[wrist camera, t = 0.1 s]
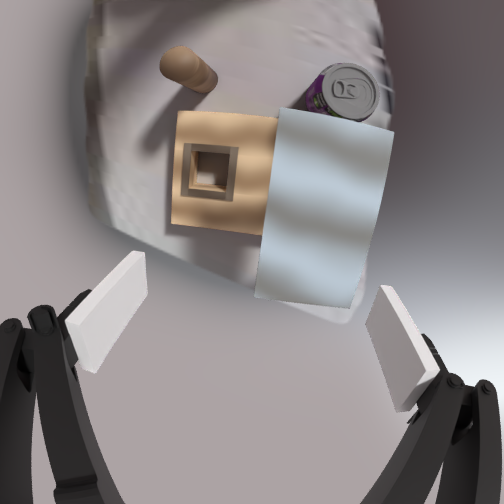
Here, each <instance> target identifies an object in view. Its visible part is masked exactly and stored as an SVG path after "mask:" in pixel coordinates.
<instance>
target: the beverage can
mask: <svg viewBox="0 0 504 504" xmlns="http://www.w3.org/2000/svg"><path fill="white" fill-rule="evenodd" d="M379 98H380V92H379V87H378V84H377V82H376V80H375V79H374V77H373V76H372V75H371V74H370V73H369V72H368V71H367V70H366V69H364V68H363V67H361V66H359V65H356V64H351V63H337V64H333V65H331V66H329V67H327V68H325V69H324V70H323V71H322V72H321V73H320V74H319V76H318V77H317V78H316V79H315V81H314V82H313V83H312V84H311V86H310V87H309V88H308V90H307V93H306V106H307V109H308V111H309V112H313V113H318V114H323V115H328V116H333V117H338V118H342V119H347V120H351V121H355V122H362V121H364V120H366V119H367V118H368V117H370V116H371V115H372V113H373V112H374V110H375V109H376V107H377V105H378V103H379Z"/></svg>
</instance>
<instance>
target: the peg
mask: <svg viewBox="0 0 504 504" xmlns="http://www.w3.org/2000/svg"><path fill="white" fill-rule="evenodd" d="M160 71H161V73H162V74H163V76H164V77H166V78H168V79H170V80H172V81H175V82H177V83H179V84H181V85H183V86H186V87H188V88H190V89H192V90H194V91H196V92H198V93H208V92H210V91H212V90H213V89H214V88H215V87H216V85H217V82H218V77H217V74H216V73H215V72H214V71H213V70H212V69H211V68H210V67H209V66H208V65H207V64H206V63H205V62H204V61H203V60H202V59H201V58H200V57H199V56H197V55H196V54H195V53H194V52H193V51H192V50H191V49H189V48H187V47H184V46H177V47H174V48H171V49H170V50H168V51H167V52H166V53H165V54H164V55H163V56H162V58H161V61H160Z"/></svg>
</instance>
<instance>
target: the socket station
mask: <svg viewBox="0 0 504 504" xmlns="http://www.w3.org/2000/svg"><path fill="white" fill-rule="evenodd" d="M393 137H394V132H392V131H388V130H385V129H381V128H378V127H374V126H371V125H367V124H363V123H359V122H355V121H351V120H347V119H342V118H338V117H333V116H328V115H323V114H318V113H313V112H307V111H302V110H296V109H289V108H282V107H280V110H279V117H278V118H271V117H264V116H255V115H245V114H235V113H222V112H205V111H178V117H177V127H176V138H175V151H174V166H173V185H172V212H171V224H179V225H187V226H195V227H203V228H210V229H218V230H225V231H233V232H240V233H248V234H255V235H262V241H261V248H260V255H259V262H258V269H257V276H256V283H255V290H254V297H256V298H263V299H270V300H278V301H286V302H294V303H302V304H311V305H320V306H329V307H338V308H348V309H350V306H351V303H352V300H353V298H354V295H355V292H356V289H357V286H358V283H359V279H360V276H361V273H362V270H363V267H364V263H365V260H366V257H367V253H368V250H369V245H370V242H371V239H372V235H373V232H374V228H375V224H376V220H377V216H378V212H379V208H380V203H381V199H382V195H383V190H384V185H385V180H386V176H387V171H388V166H389V160H390V154H391V148H392V143H393ZM199 151H201V152H213V153H224V154H230V158H229V168H228V177H227V186H220V185H211V184H201V183H196V182H197V169H198V157H199Z"/></svg>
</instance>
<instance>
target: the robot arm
mask: <svg viewBox="0 0 504 504" xmlns="http://www.w3.org/2000/svg"><path fill="white" fill-rule="evenodd" d="M147 294H148V293H147V282H146V266H145V253H144V252H138V251H132V252H131V253H130V254H129V255H128V256H127V257H126V258H125V259H123V260H122V261H121V263H119V264H118V265H117V266H116V267H115V269H114V270H112V271H111V272H110V273H109V274H108V275H107V276H106V277H105V279H103V280H102V281H101V282H100V283H99V284H98V285H97V287H96V288H95V289H94V290H90V289H88V290H86V291H84V292H82V293H80V294H79V295H78V296H77V297H76V298H75V299H74V301H72V302H71V303H70V304H69V306H68V307H66V309H65V310H64V311H63V312H62V313H61V314H60V315H59V316H58V317H56V314H55V310H54V308H53V307H51V306H49V305H40V306H37V307H35V308H33V309H32V310H31V311H30V312H29V313H28V316H27V318H28V320H29V323H30V326H31V328H32V329H28V328H23V326H22V323H21V321H20V320H18V319H16V318H12V319H8V320H5V321H4V322H3V323H2V324H1V325H0V504H33V495H32V479H31V478H32V477H31V446H32V428H33V416H34V406H35V399H36V392H37V400H38V407H39V414H40V420H41V425H42V431H43V435H44V440H45V445H46V449H47V453H48V457H49V461H50V465H51V468H52V472H53V475H54V479H55V482H56V489H55V490H54V499H55V502H56V504H125V503H124V501H123V500H122V498H121V496H120V495H119V492H118V490H117V488H116V486H115V484H114V482H113V479H112V477H111V475H110V473H109V471H108V468H107V466H106V463H105V461H104V459H103V456H102V454H101V452H100V448H99V446H98V443H97V440H96V437H95V435H94V432H93V429H92V426H91V423H90V420H89V416H88V413H87V410H86V406H85V403H84V400H83V396H82V393H81V388H80V384H79V380H78V376H77V371H76V368H75V366H74V365H75V363H76V362H77V361H78V360H79V363H80V365H81V368H82V369H85V370H87V371H90V372H93V373H95V374H96V372H97V371H98V369H99V367H100V365H101V364H102V362H103V361H104V359H105V358H106V356H107V355H108V353H109V351H110V350H111V348H112V347H113V345H114V344H115V342H116V340H117V339H118V337H119V336H120V334H121V333H122V331H123V330H124V328H125V327H126V325H127V324H128V322H129V321H130V319H131V318H132V316H133V315H134V313H135V312H136V310H137V309H138V307H139V306H140V305H141V303H142V302H143V300H144V299H145V297H146V296H147ZM365 325H366V327H367V330H368V332H369V335H370V337H371V340H372V343H373V345H374V348H375V351H376V354H377V357H378V359H379V362H380V365H381V368H382V371H383V374H384V376H385V379H386V382H387V385H388V388H389V391H390V395H391V398H392V401H393V404H394V407H395V410H396V412H405V411H410V410H411V409H412V407H413V406H414V405H415V404H416V403H417V406H418V410H417V412H416V413H415V414H414V415H413V416H412V417H411V419H410V420H409V421H408V422H407V423H408V424H409V423H410V425H409V426H408V428H407V430H406V432H405V434H404V436H403V438H402V440H401V441H400V443H399V445H398V447H397V449H396V450H395V452H394V454H393V455H392V457H391V459H390V460H389V462H388V464H387V465H386V467H385V469H384V470H383V472H382V473H381V475H380V476H379V478H378V479H377V481H376V482H375V484H374V485H373V487H372V488H371V490H370V491H369V492H368V494H367V495H366V496H365V498H364V499H363V501H362V502H361V503H360V504H424V502H425V500H426V498H427V496H428V494H429V492H430V490H431V488H432V486H433V484H434V481H435V479H436V477H437V475H438V472H439V470H440V468H441V465H442V463H443V468H442V474H441V480H440V485H439V490H438V494H437V499H436V503H435V504H499V501H500V492H501V475H502V442H501V425H500V414H499V406H498V399H497V392H496V389H495V387H494V385H493V384H492V383H491V382H490V381H487V380H479V382H478V383H477V384H476V386H475V387H473V386H468V385H465V384H464V382H463V380H462V379H461V378H460V377H459V376H458V375H456V374H453V373H449V372H448V370H447V368H446V367H445V364H444V363H443V361H442V359H441V357H440V355H439V354H438V352H437V350H436V349H435V346H434V345H433V343H432V341H431V340H430V339H429V338H428V337H427V336H426V335H425V334H420V332H419V330H418V328H417V327H416V325H415V323H414V322H413V320H412V318H411V317H410V315H409V313H408V312H407V310H406V308H405V307H404V305H403V304H402V302H401V300H400V299H399V297H398V295H397V294H396V292H395V291H394V289H393V288H392V286H386V285H380V287H379V290H378V292H377V295H376V298H375V300H374V303H373V306H372V308H371V311H370V313H369V316H368V318H367V321H366V324H365ZM443 460H444V461H443Z"/></svg>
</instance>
